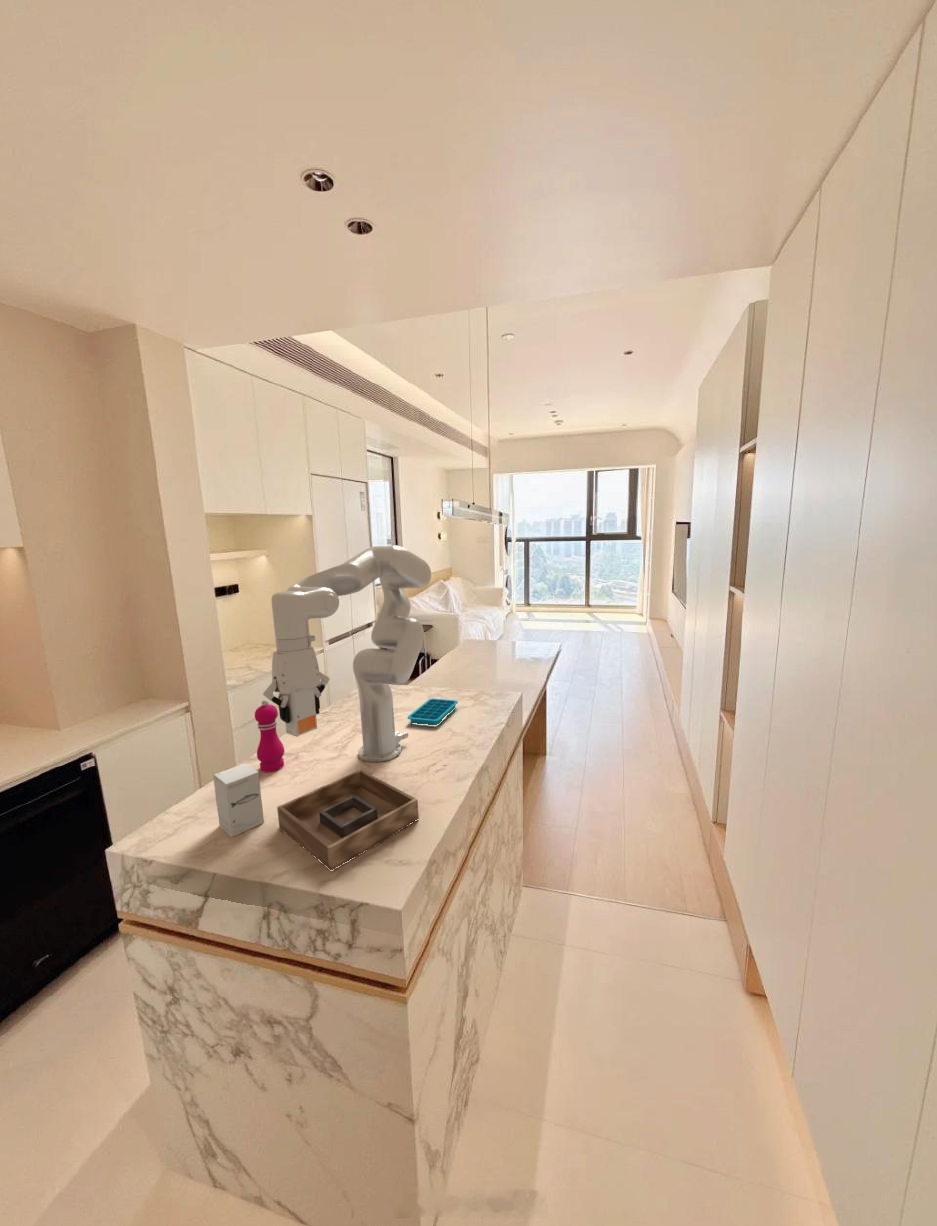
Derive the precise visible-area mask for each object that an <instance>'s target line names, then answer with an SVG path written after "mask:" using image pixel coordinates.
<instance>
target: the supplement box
mask: <svg viewBox="0 0 937 1226" xmlns="http://www.w3.org/2000/svg"><path fill="white" fill-rule="evenodd" d="M259 774H260V773H259V771H258V770H256V769H255V768H253V767H252V766H251V765H249V764H248V763H246V762H245V763H242V764H240V765H236V766H234V767H231V768H228V769H226V770H225V769H224V770H223V771H220V772H218V773H214V774H213V776H212V777H213V785H214V792H215V801H216V808H217V817H218V824H219V825H218V826H220V827H221V829H222V830H223V831H225V833H227V835H228V836H230V838H234V837H235V836H237V835H239V834H242V833H243V832H247V831H249V830H250V829H253V828H254V827H257V826H259V825H261V824H262V825H263V824H264V822H265V817H264V811H263V802H262V801H263V800H262V795H261V794H262V792H261V791H262V790H261V784H260V775H259ZM233 836H234V837H233Z"/></svg>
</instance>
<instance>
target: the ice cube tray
mask: <svg viewBox="0 0 937 1226" xmlns="http://www.w3.org/2000/svg"><path fill="white" fill-rule="evenodd" d="M458 703H459V702H458V700H456V699H446V698H445V699H443V698H429V699H427V701H425V702H424V703H422V704H421V705H420V706H419V707H418V708H416V709H415V710H414V711H413V712H411V713H410V714H409V715H408V716H407V719H408V720H410V724H411V723H417V724H428V725H437V724H439V723H440V722H441V721H442V719H443V718H444V717H445V716H446V715H447V714H448V713H450V712H451V711H452V710H453V709H454V708H455V709H456V707H455V706H456V705H457V704H458Z"/></svg>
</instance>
